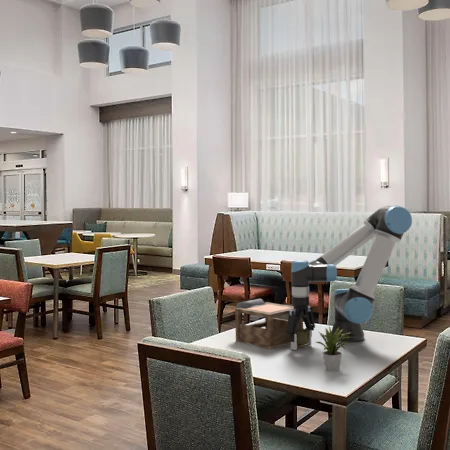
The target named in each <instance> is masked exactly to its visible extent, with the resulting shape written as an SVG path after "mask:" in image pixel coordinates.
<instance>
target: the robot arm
mask: <svg viewBox="0 0 450 450" xmlns="http://www.w3.org/2000/svg"><path fill="white" fill-rule="evenodd" d="M412 223H413V217H412V215H411V213H410V211H409V210H408V209H407V208H405V207H403V206H399V205H385V206H384V205H383V206H382V207H380V208H379V209H377V210H376V211H374V212H373V213H372V214H371V215H369V217H367V218H366V219H364V220H363V224H362V225H360V226H359V227H358V228H356V229H355V230H354V231H352V232H351V233H350V234H348V235H347V236H345V237H344V238H343V239H342V240H340V241H339V242H338V243H336V244H335V245H334V246H333V247H331V248H329V249H328V250H327V251H326V252H325V253H323V254H322V255H320V256H319V257H318V258H316V259H315V260H312V261H308V260H306V259H305V260H303V259H296V260H295V259H294V260H293V261H291V270H290V272H291V273H290V276H291V277H290V278H291V296H292V297H291V304H292V305H293V306H294V308H293V310H289V311H288V314H289V317H288V324H287V331H286V333H288V334H290V342H291V344H290V350H295V351H296V350H298V347H297V345H298V344H297V335H296V334H295V333H296V329H297V326H298V323H299V320H300V319H301V318H303V324H304V325H305V328H307V329H309V330H310V334H309V341H308V343H307V344H305V345H306V346H312V335H313V332H312V331H314V330H315V328H316V324H315V319H314V313H313V311H314V308H313V306H309V305H310V283H317V282H318V283H324V282H325V283H329V282H336V280H337V278H338V271H337V270H338V269H337V265H339V264H340V263H341V262H342V261H344V260H345V259H347V258H349V256H350V255H352V254H353V253H355V252H356V251H357V250H359V249H360V248H361V247H363V246H364V245H365V244H367V243H368V242H369V241H370V240H372V239H373V238H374V240H373V243H372V245H371V247H370V250H369V252H368V254H367V256H366V258H365V260H364V263H363V266H362V268H361V270H360V272H359V275H358V277H357V279H356V281H355V284H354V285H352V286H350V287H349V288H337V289H335V290H334V292H333V311H334V313H333V315H334V317H333V319H334V321H333V325H332V328H331V332H332V338H333V336H334V334H335V332H336V330H337V329H338V327H339V330H338V332H339V331H340V330H342V329H343V330H342V331H341V334H345V335H346V336H344V337H349V338H345V339H342V340H340V342H344V343H345V342H346V343H351V342H352V343H357V342H361V341H364V340H365V332H364V330H363V327H362V324H363V323H365V322H367V321H369V320H370V319H371V317H372V315H373V313H374V309H373V304H374V302H375V299H376V297H375V293H374V292H375V290H376V288H377V287H378V286H377V285H378V284H379V281H380V279H381V276H382V274H383V272H384V270H385V268H386V265H387V262H388V261H389V258H390V256H391V254H392V252H393V249H394V248H395V245H396V243H398V242H401V240H402V238H403V236H404V234H405V233H406V232H408V231H409V229H410V228H411V227H412ZM350 332H352V333H350ZM346 333H348V334H346ZM341 334H340V336H339V338H340V337H341V336H342V335H341ZM342 337H343V336H342ZM342 337H341V338H342ZM339 338H338V339H339Z"/></svg>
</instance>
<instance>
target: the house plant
mask: <svg viewBox="0 0 450 450" xmlns="http://www.w3.org/2000/svg"><path fill="white" fill-rule="evenodd" d="M338 330H339V327H338V329H337V330H336V332H335V334H334V336H333V338H332V332H331V331H332V328H331V327H330V325H329V327H328V328H327V327H325V334H324V333H321V332H320V331H318V333H319V336H320V337H321V338H322V339H323V341H324V343H325V344H324V343H323V342H321V341H316V342H315V344H316V343H317V344H318V345H319V344H320V345H321V346H323V347H324V348H323V351H322V357H323V363H324V368H325V370H326V371H328V372H338V371H340V368H341V361H342V360H341V359H342V355H343V354H342V352H341V351H340V348H344V349H346V347H345V346H348V344H347V342H342V341H340V340H342V339H345V338H349V337H344V336H346V335H345V334H341V331H342V330H343V329H342V330H340V331H339V332H338ZM350 333H352V332H350ZM340 334H341V335H342V336H343V337H342V336H341V337H342V338H341V337H340V338H339V336H340ZM346 334H348V333H346ZM338 338H339V339H338ZM338 350H339V351H338Z"/></svg>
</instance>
